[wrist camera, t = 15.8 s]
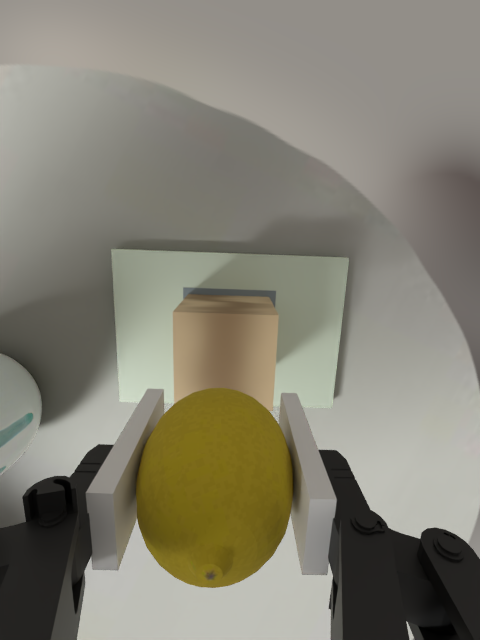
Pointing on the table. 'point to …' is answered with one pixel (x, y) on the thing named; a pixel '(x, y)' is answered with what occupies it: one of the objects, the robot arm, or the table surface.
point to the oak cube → (225, 345)
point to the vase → (17, 411)
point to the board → (234, 280)
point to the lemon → (214, 488)
